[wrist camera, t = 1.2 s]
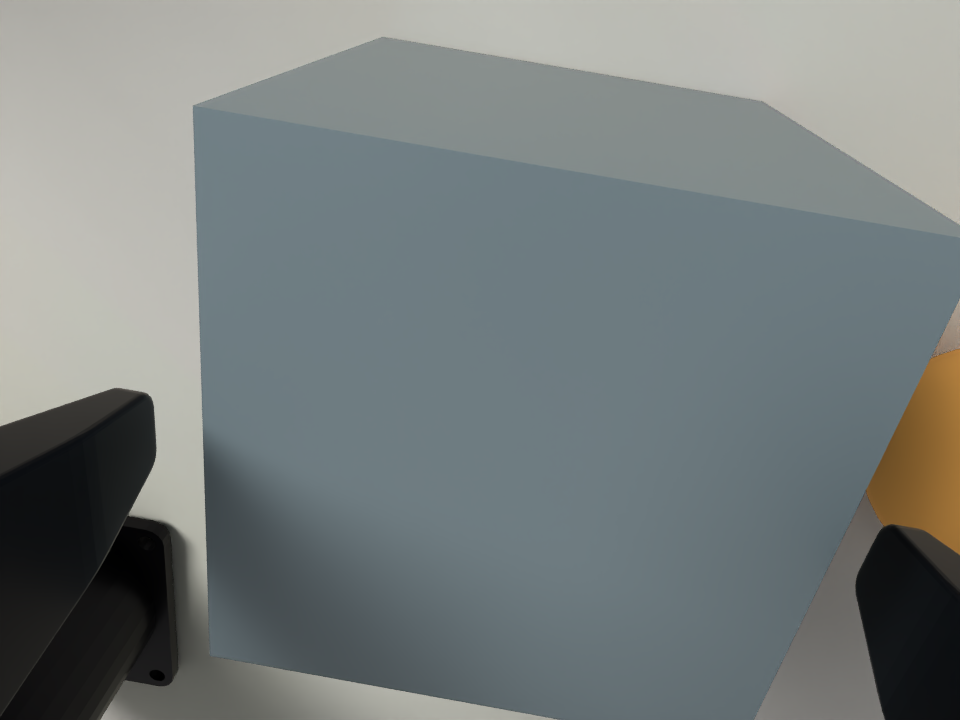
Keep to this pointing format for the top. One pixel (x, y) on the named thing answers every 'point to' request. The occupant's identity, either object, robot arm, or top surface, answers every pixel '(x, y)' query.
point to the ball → (925, 458)
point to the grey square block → (541, 377)
